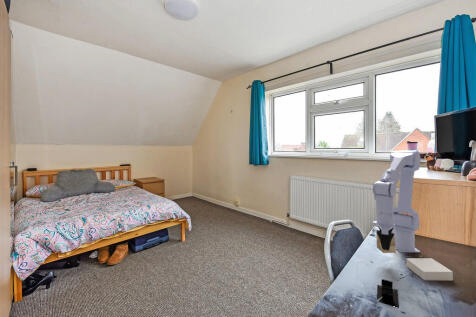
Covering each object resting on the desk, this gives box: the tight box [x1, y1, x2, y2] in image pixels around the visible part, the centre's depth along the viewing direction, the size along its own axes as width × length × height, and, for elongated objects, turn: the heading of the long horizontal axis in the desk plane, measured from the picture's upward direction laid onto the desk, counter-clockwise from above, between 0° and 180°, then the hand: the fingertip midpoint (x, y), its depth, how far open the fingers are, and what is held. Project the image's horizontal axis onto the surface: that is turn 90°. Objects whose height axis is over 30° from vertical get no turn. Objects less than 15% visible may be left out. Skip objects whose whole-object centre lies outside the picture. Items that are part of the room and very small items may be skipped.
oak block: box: [375, 232, 397, 254], centre depth 84 cm, size 4×4×6 cm
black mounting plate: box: [376, 278, 400, 309], centre depth 67 cm, size 12×7×5 cm, turn 145°
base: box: [405, 257, 454, 281], centre depth 78 cm, size 9×9×3 cm
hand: (385, 246), depth 84 cm, fingers closed on oak block, 6 cm apart
